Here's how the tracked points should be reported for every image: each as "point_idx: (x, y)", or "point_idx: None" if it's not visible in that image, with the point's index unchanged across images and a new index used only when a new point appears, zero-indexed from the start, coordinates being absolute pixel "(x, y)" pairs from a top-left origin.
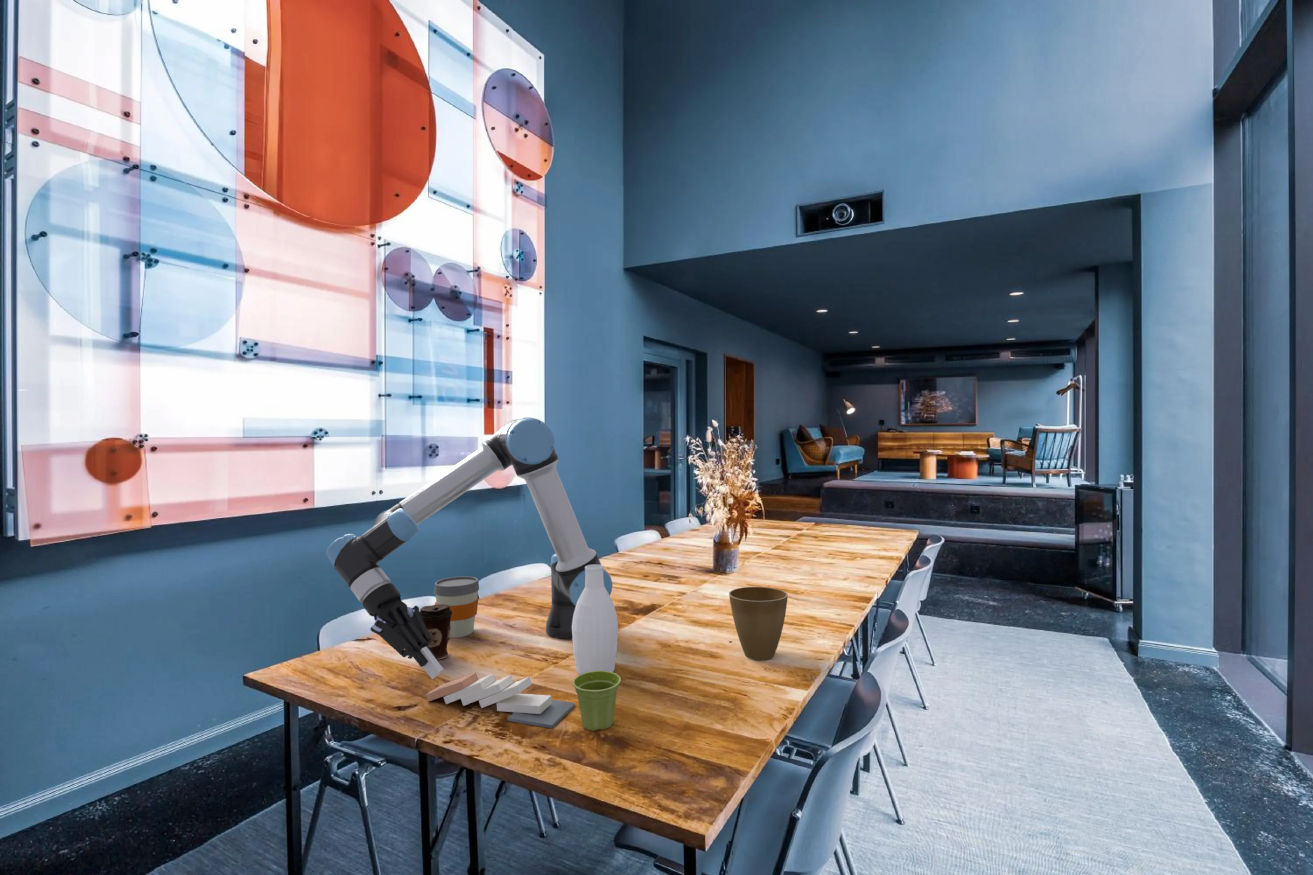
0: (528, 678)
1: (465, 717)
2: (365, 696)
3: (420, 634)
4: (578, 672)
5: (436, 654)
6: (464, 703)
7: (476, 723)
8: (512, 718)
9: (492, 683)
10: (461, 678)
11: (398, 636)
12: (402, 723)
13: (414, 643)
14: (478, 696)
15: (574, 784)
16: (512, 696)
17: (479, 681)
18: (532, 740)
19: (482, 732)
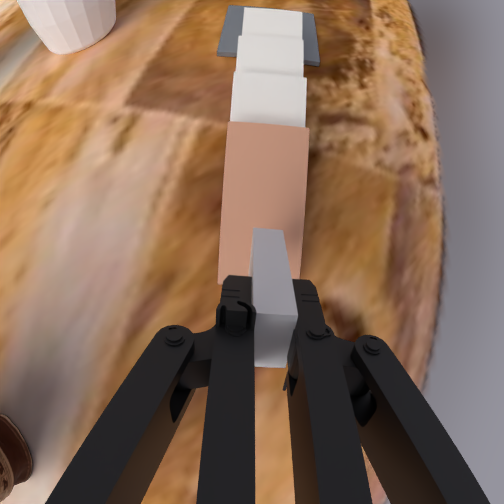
0: (250, 9)
1: (339, 138)
2: None
3: (216, 391)
4: (97, 37)
5: (9, 438)
6: None
7: (351, 109)
8: (318, 55)
9: None
10: (243, 172)
11: (421, 437)
12: (414, 266)
13: (321, 360)
14: None
15: (401, 3)
16: None
17: (282, 92)
18: (355, 31)
19: (372, 90)
